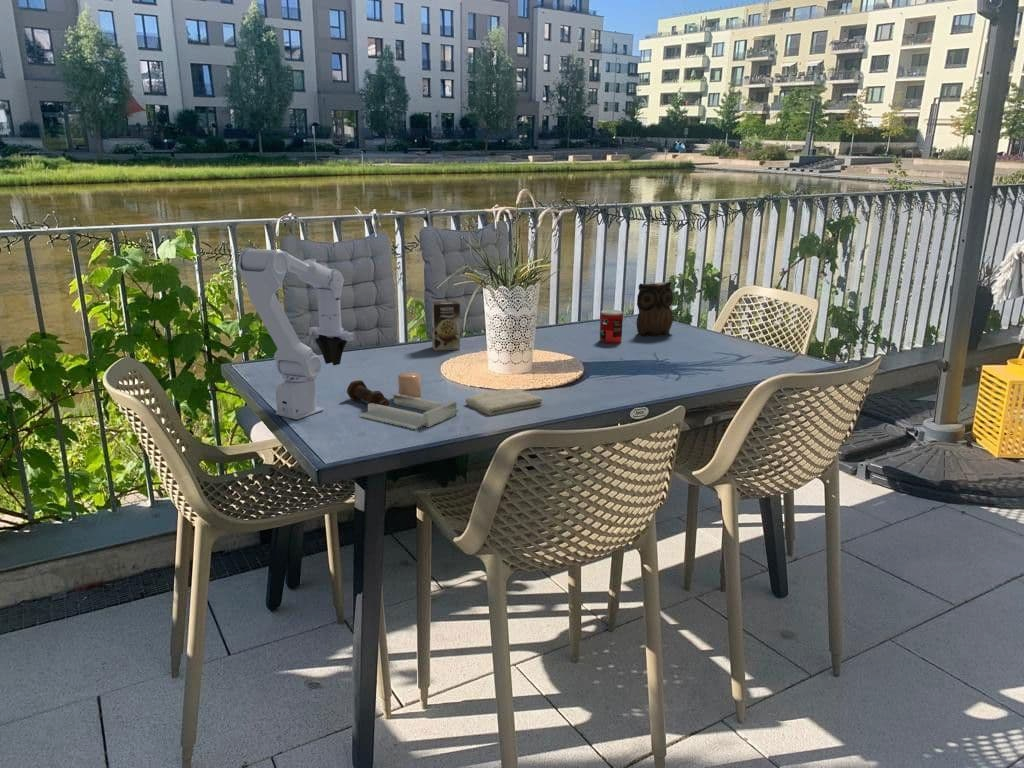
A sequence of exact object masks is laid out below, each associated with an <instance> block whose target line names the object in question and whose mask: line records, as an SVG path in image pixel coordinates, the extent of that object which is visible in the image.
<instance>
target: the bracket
mask: <svg viewBox="0 0 1024 768" xmlns="http://www.w3.org/2000/svg"><path fill="white" fill-rule="evenodd" d="M393 403H394V405H398V406H402V407H403V406H404V407H407V408H411V409H416V410H421V411H425V412H423V413H419V412H416V411H415V412H414V411H410V410H406V409H401V408H396V407H392V406H384V405H379V404H375V403H370V404H368V403H367V411H366V412H363V413H360V414H359V417H360V418H363V419H367V418H368V420H372V421H377V422H380V423H384V422H385V423H384V424H388V423H389V425H392V424H394V425H393V426H397V425H398V426H397V427H401V426H403V427H402V428H405V427H407V428H406V429H409V428H411V429H410V430H413V429H415V430H414V431H417V430H419V429H421V428H423V427H422V426H426V427H425V428H427V427H429V428H431V427H433V426H435V425H434V424H436V425H438V424H440V423H442V422H444V420H445V421H447V420H449V419H451V418H454V417H456V416H457V413H458V412H460V408H457V401H453V400H451V401H448V402H446V403H444V402H440V401H435V400H431V399H425V398H421V397H420V398H417V397H412V396H407V395H402V394H399V392H398V393H395V394H393ZM455 415H456V416H455ZM453 416H454V417H453ZM446 419H447V420H446ZM439 422H440V423H439ZM437 423H438V424H437ZM432 425H433V426H432ZM430 426H431V427H430ZM420 427H421V428H420ZM418 428H419V429H418ZM416 429H417V430H416Z"/></svg>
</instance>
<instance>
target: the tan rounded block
mask: <svg viewBox="0 0 1024 768" xmlns="http://www.w3.org/2000/svg"><path fill="white" fill-rule="evenodd" d="M397 376H398V377H397V381H398V394H402V395H407V396H412V397H417V398H421V397H422V391H421V389H422V388H421V373H418V372H410V371H409V372H408V371H407V372H402V373H400V374H398V375H397Z"/></svg>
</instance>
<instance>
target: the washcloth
mask: <svg viewBox="0 0 1024 768" xmlns="http://www.w3.org/2000/svg"><path fill="white" fill-rule="evenodd" d="M542 401H543V397H540V396H538V395H534V394H532V393H530V392H528V391H526V390H525V389H522V388H519V387H518V388H517V387H516V388H514V389H505V388H500V389H498V390H494V391H488V392H482V393H478V394H473V395H470V396H468V397H467V398H466V399H465V403H466V404H467V405H468V406H469V407H471V408H473V409H476V410H478V411H479V412H480V413H483V414H485V415H487V416H495V414H496V415H499V414H500V413H501V414H504V413H511V412H515V411H519V410H525V409H528V408H529V409H530V408H534V407H541V406H543V402H542Z"/></svg>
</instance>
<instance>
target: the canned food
mask: <svg viewBox="0 0 1024 768" xmlns="http://www.w3.org/2000/svg"><path fill="white" fill-rule="evenodd" d="M599 317H600V318H599V320H600V322H599V324H600V325H599V341H600V342H601V343H604V344H609V345H610V344H611V345H612V344H620V343H621V342H622V337H623V336H622V335H623V319H624V312H623V311H622V310H617V309H603V310H601V311H600V316H599Z"/></svg>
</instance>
